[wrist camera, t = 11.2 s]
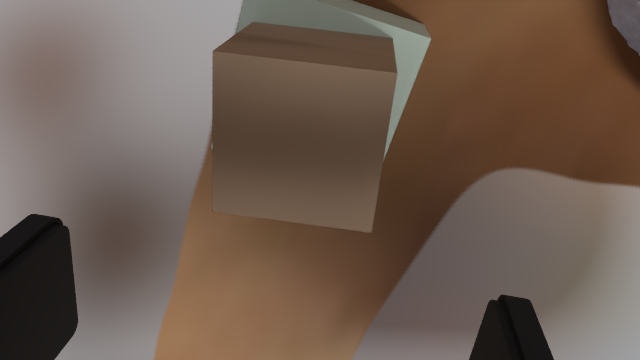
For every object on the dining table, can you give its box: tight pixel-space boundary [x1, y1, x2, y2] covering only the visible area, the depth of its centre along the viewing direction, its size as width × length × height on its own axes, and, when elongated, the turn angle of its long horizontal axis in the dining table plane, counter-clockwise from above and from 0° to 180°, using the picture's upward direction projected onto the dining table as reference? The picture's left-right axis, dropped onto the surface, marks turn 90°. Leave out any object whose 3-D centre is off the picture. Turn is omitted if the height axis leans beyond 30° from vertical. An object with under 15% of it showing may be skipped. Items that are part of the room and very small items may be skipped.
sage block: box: [211, 0, 431, 160], centre depth 25 cm, size 8×8×4 cm
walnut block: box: [212, 22, 398, 233], centre depth 21 cm, size 6×6×6 cm
